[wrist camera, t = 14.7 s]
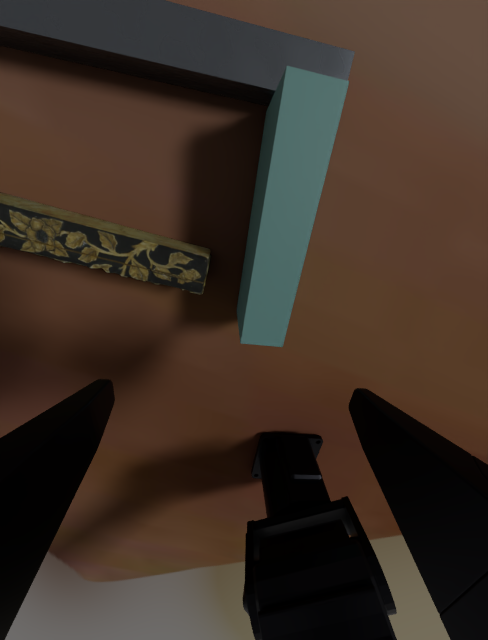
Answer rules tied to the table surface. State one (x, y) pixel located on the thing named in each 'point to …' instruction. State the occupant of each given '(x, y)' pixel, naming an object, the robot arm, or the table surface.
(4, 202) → the decorative block
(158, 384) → the table surface
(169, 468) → the table surface
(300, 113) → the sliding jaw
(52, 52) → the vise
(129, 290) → the table surface
